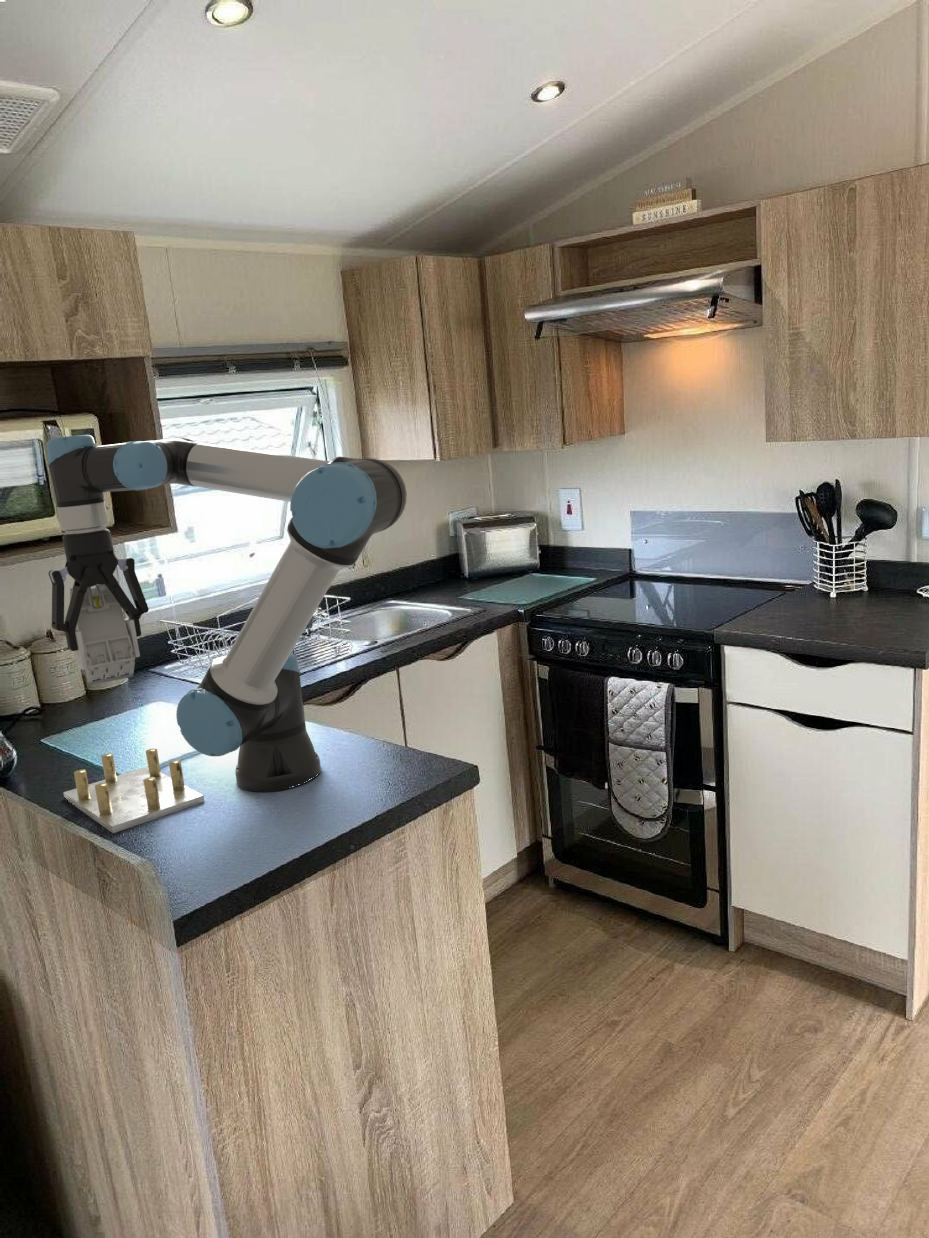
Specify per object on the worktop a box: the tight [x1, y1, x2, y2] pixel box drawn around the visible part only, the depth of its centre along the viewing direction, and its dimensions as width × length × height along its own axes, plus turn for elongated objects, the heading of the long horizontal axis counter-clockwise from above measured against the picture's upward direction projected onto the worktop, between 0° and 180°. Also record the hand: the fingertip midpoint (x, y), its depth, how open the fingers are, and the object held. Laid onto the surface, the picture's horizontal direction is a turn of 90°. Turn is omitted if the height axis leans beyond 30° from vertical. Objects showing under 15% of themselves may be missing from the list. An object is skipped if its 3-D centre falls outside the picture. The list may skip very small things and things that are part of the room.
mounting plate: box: [62, 748, 205, 834], centre depth 169 cm, size 23×16×6 cm
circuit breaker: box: [69, 584, 136, 686], centre depth 170 cm, size 8×14×15 cm
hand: (109, 661), depth 165 cm, fingers closed on circuit breaker, 8 cm apart
